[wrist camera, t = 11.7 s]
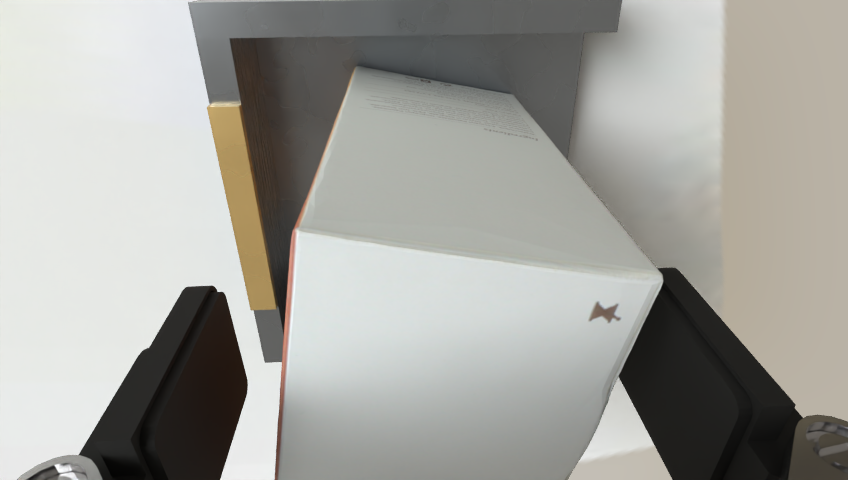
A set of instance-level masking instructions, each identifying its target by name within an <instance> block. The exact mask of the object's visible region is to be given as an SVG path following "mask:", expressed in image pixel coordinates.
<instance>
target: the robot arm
mask: <svg viewBox="0 0 848 480" xmlns="http://www.w3.org/2000/svg"><path fill="white" fill-rule="evenodd" d="M657 269H658V270H659V271H660V272H661V273H662V275H663V284H662V287H661V289H660V291H659V293H658V295H657V297H656V299H655V301H654V303H653V305H652V307H651V309H650V311H649V313H648V315H647V317H646V319H645V321H644V323H643V325H642V327H641V329H640V332H639V334H638V336H637V338H636V341H635V343H634V345H633V347H632V349H631V351H630V353H629V355H628V357H627V359H626V361H625V363H624V366H623V368H622V370H621V372H620V374H619V378H620V380H621V382H622V384H623V386H624V387H625V389H626V391H627V393H628V395H629V397H630V399H631V401H632V403H633V405H634V407H635V409H636V410H637V412H638V414H639V416H640V418H641V420H642V422H643V424H644V426H645V428H646V430H647V431H648V433H649V435H650V437H651V439H652V441H653V443H654V445H655V447H656V449H657V451H658V453H659V454H660V456H661V458H662V460H663V462H664V464H665V466H666V468H667V470H668V472H669V474H670V475H671V477H672V479H673V480H848V422H847V421H844V420H841V419H838V418H835V417H832V416H824V415H813V416H806V417H805V418H803V417H802V416H801V415H800V414H799V413H798V412H797V411H796V409H795V408H794V407H795V404H794V403H793V401H792V400H791V399H790V398H789V397H788V396H787V394H786V393H785V392H784V391H783V390H782V389H781V387H780V386H779V385H778V384H777V383H776V382H775V381H774V379H773V378H772V377H771V376H770V375H769V374H768V373H767V372H766V370H765V369H764V368H763V367H762V366H761V364H760V363H759V362H758V361H757V360H756V359H755V358H754V356H753V355H752V354H751V353H750V352H749V351H748V349H747V348H746V347H745V346H744V345H743V344H742V343H741V342H740V340H739V339H738V338H737V337H736V336H735V335H734V333H733V332H732V331H731V330H730V329H729V328H728V326H726V324H725V323H724V322H723V321H722V320H721V318H720V317H719V316H718V315H717V314H716V313H715V312H714V310H713V309H712V308H711V307H710V306H709V305H708V304H707V302H706V301H705V300H704V299H703V298H702V297H701V295H700V294H699V293H698V292H697V291H696V290H695V289H694V287H693V286H692V285H691V284H690V283H689V282H688V281H687V279H686V278H685V277H684V276H683V275H682V274H681V273H680V271H679V270H677V269H676V268H657ZM247 387H248V384H247V377H246V373H245V369H244V365H243V361H242V357H241V353H240V350H239V346H238V342H237V338H236V334H235V330H234V326H233V322H232V318H231V315H230V311H229V307H228V303H227V299H226V296H225V294H224V293H223V292H217V289H216V288H215V287H214V286H195V287H186V288H185V289H184V290H183V291H182V293H181V295H180V296H179V298H178V300H177V301H176V303H175V305H174V307H173V308H172V310H171V312H170V313H169V315H168V317H167V318H166V320H165V322H164V324H163V325H162V327H161V329H160V330H159V332H158V334H157V335H156V337H155V339H154V341H153V342H152V344H151V346H150V347H149V348H147V349H145V350H143V351H142V352H141V353H140V355H139V356H138V357H137V359H136V361H135V362H134V364H133V366H132V367H131V369H130V371H129V372H128V374H127V376H126V377H125V379H124V381H123V382H122V384H121V386H120V387H119V389H118V391H117V392H116V394H115V396H114V397H113V399H112V401H111V402H110V404H109V406H108V407H107V409H106V411H105V412H104V414H103V416H102V417H101V419H100V421H99V422H98V424H97V426H96V427H95V429H94V431H93V432H92V434H91V435H90V437H89V439H88V440H87V442H86V444H85V445H84V447H83V449H82V450H81V452H80V454H79V455H67V456H62V457H58V458H53V459H51V460H48V461H46V462H44V463H41V464H39V465H37V466H35V467H34V468H32V469H31V470H29V471H27V472H26V473H24V474H23V475H21V476H20V477H19V478H18V479H17V480H220V478H221V475H222V472H223V468H224V465H225V462H226V459H227V456H228V452H229V449H230V446H231V443H232V440H233V437H234V433H235V430H236V427H237V424H238V421H239V417H240V414H241V411H242V408H243V405H244V401H245V398H246V395H247Z"/></svg>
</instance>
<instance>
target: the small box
mask: <svg viewBox="0 0 848 480" xmlns="http://www.w3.org/2000/svg"><path fill="white" fill-rule="evenodd" d="M662 284H663V275H662V273H661V272H660V271H659V270H658V269H657V267H656V266H655V265H654V264H653V263H652V262H651V260H650V259H649V258H648V257H647V256H646V255H645V253H644V252H643V251H642V250H641V249H640V247H639V246H638V245H637V244H636V243H635V241H634V240H633V239H632V238H631V236H630V235H629V234H628V233H627V232H626V230H625V229H624V228H623V227H622V226H621V224H620V223H619V222H618V221H617V220H616V218H615V217H614V216H613V215H612V213H611V212H610V211H609V210H608V209H607V207H606V206H605V205H604V204H603V203H602V201H601V200H600V199H599V198H598V197H597V195H596V194H595V193H594V192H593V191H592V189H591V188H590V187H589V186H588V185H587V183H586V182H585V181H584V180H583V179H582V177H581V176H580V175H579V174H578V173H577V171H576V170H575V169H574V168H573V167H572V165H571V164H570V163H569V162H568V160H567V159H566V158H565V157H564V156H563V154H562V153H561V152H560V151H559V150H558V148H557V147H556V146H555V145H554V143H553V142H552V141H551V140H550V138H549V137H548V136H547V135H546V133H545V132H544V131H543V130H542V129H541V127H540V126H539V125H538V124H537V123H536V122H535V120H534V119H533V118H532V117H531V115H530V114H529V113H528V112H527V111H526V110H525V108H524V107H523V106H522V105H521V103H520V102H519V101H518V100H517V99H516V98H515V96H514V95H512V94H506V93H500V92H495V91H490V90H484V89H478V88H473V87H468V86H462V85H456V84H451V83H445V82H440V81H434V80H429V79H424V78H419V77H413V76H408V75H403V74H398V73H393V72H388V71H382V70H377V69H371V68H366V67H361V66H356V67H355V68H354V71H353V73H352V76H351V79H350V81H349V84H348V87H347V91H346V94H345V96H344V99H343V102H342V104H341V107H340V109H339V112H338V114H337V117H336V120H335V122H334V125H333V128H332V131H331V134H330V136H329V139H328V142H327V145H326V147H325V150H324V153H323V156H322V158H321V161H320V164H319V166H318V169H317V172H316V174H315V177H314V180H313V182H312V185H311V188H310V190H309V193H308V196H307V198H306V200H305V203H304V205H303V208H302V210H301V213H300V215H299V217H298V220H297V222H296V225H295V227H294V229H293V232H292V237H291V245H290V258H289V272H288V286H287V299H286V313H285V326H284V340H283V355H282V371H281V387H280V405H279V417H278V432H277V449H276V467H275V480H568V478H569V476H570V475H571V473H572V471H573V469H574V468H575V466H576V465H577V463H578V461H579V460H580V458H581V457H582V455H583V453H584V452H585V450H586V449H587V447H588V445H589V443H590V441H591V439H592V437H593V435H594V433H595V431H596V429H597V427H598V425H599V422H600V420H601V417H602V415H603V412H604V410H605V407H606V405H607V403H608V400H609V396H610V394H611V391H612V389H613V386H614V384H615V382H616V380H617V378H618V376H619V374H620V372H621V370H622V368H623V366H624V363H625V361H626V359H627V357H628V355H629V353H630V351H631V349H632V347H633V345H634V343H635V341H636V338H637V336H638V334H639V332H640V329H641V327H642V325H643V323H644V321H645V319H646V317H647V315H648V313H649V311H650V309H651V307H652V305H653V303H654V301H655V299H656V297H657V295H658V293H659V291H660V289H661V287H662Z"/></svg>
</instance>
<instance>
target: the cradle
mask: <svg viewBox="0 0 848 480" xmlns="http://www.w3.org/2000/svg"><path fill="white" fill-rule="evenodd" d="M188 4H189V9H190V14H191V18H192V23H193V28H194V32H195V37H196V42H197V46H198V51H199V56H200V61H201V65H202V70H203V75H204V79H205V84H206V89H207V93H208V98H209V103H210V105H209V106H208V107H207V110H208V115H209V119H210V124H211V128H212V133H213V138H214V142H215V147H216V151H217V156H218V161H219V165H220V170H221V175H222V179H223V184H224V188H225V193H226V198H227V202H228V207H229V212H230V216H231V221H232V225H233V230H234V235H235V239H236V244H237V249H238V253H239V258H240V262H241V267H242V272H243V276H244V281H245V286H246V290H247V295H248V299H249V304H250V309H251V310H254V314H255V319H256V323H257V328H258V333H259V337H260V342H261V347H262V352H263V356H264V361H265V363H266V362H282V355H283V340H284V326H285V313H286V299H287V286H288V272H289V258H290V245H291V237H292V232H293V229H294V227H295V225H296V222H297V220H298V217H299V215H300V213H301V210H302V208H303V205H304V203H305V200H306V198H307V196H308V193H309V190H310V188H311V185H312V182H313V180H314V177H315V174H316V172H317V169H318V166H319V164H320V161H321V158H322V156H323V153H324V150H325V147H326V145H327V142H328V139H329V136H330V134H331V131H332V128H333V125H334V122H335V120H336V117H337V114H338V112H339V109H340V107H341V104H342V102H343V99H344V96H345V94H346V91H347V87H348V84H349V81H350V79H351V76H352V73H353V71H354V68H355V67H356V66H361V67H366V68H371V69H377V70H382V71H388V72H393V73H398V74H403V75H408V76H413V77H419V78H424V79H429V80H434V81H440V82H445V83H451V84H456V85H462V86H468V87H473V88H478V89H484V90H490V91H495V92H500V93H506V94H512V95H514V96H515V98H516V99H517V100H518V101H519V102H520V103H521V105H522V106H523V107H524V108H525V110H526V111H527V112H528V113H529V114H530V115H531V117H532V118H533V119H534V120H535V122H536V123H537V124H538V125H539V126H540V127H541V129H542V130H543V131H544V132H545V133H546V135H547V136H548V137H549V138H550V140H551V141H552V142H553V143H554V145H555V146H556V147H557V148H558V150H559V151H560V152H561V153H562V154H563V156H564V157H565V158H566V159H567V157H568V150H569V142H570V135H571V127H572V120H573V113H574V105H575V98H576V90H577V83H578V75H579V68H580V60H581V53H582V45H583V38H584V32H617V28H618V22H619V16H620V10H621V4H622V0H198V1H193V2H188Z"/></svg>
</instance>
